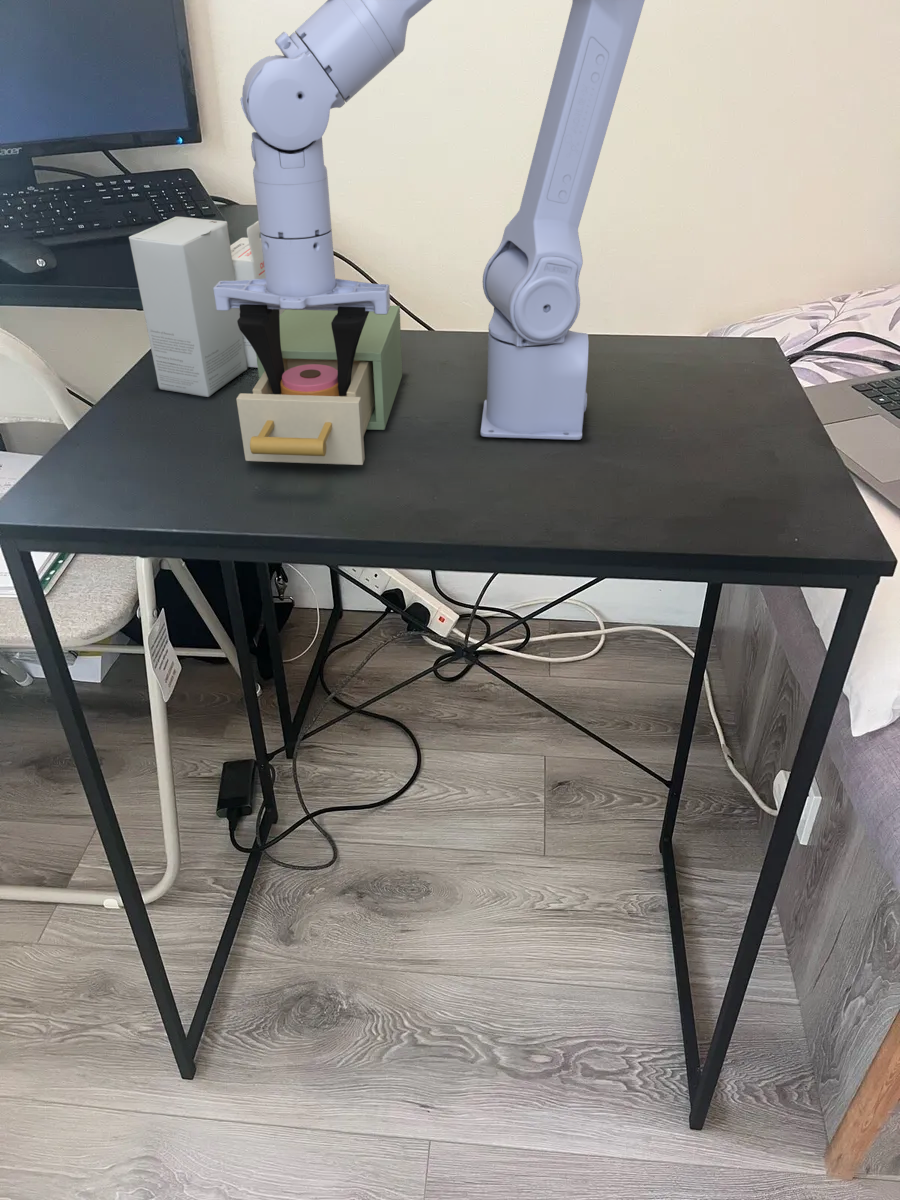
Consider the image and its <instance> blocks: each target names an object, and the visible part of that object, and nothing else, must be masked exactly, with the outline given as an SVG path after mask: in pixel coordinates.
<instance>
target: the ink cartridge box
mask: <svg viewBox="0 0 900 1200" xmlns="http://www.w3.org/2000/svg"><path fill="white" fill-rule="evenodd" d="M260 235H261V234H260V228H259V219H258V220H257V221H255V222H254V223H252V224H251V225H250V226H247V228H246V236H247V237H241V238H239V239H237V240H236V241H235V242H233V243H232V244H230V249H231V256H232V263H233V270H234V277H235V281H239V280H252V279H265V278H266V276H265V268H264V260H263V251H262V243H261V236H260ZM284 310H285V309H280V315H281V314H282V312H283V311H284ZM239 314H240V308H239ZM242 336H243V343H244V350H245V357H246V364H247V368H257V369H258V365H257V357H256V352H255V351H254V349H253V347H252V346H251V344H250V343H249V341H248V340H247V339H246V337H245V336H244V335H243V333H242Z"/></svg>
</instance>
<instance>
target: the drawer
mask: <svg viewBox="0 0 900 1200" xmlns="http://www.w3.org/2000/svg"><path fill="white" fill-rule="evenodd" d="M283 364H284V371H287V370H288V369H290V368H293V367H296V366H301V365H309V364H319V365H326V366H330V367H333V368H335V369H336V370H337V371H338V365H337V360H319V359H283ZM236 406H237V412H238V413H237V414H238V419H239V427H240V433H241V440H242V447H243V453H244V459H245V461H246V462H268V463H293V464H294V463H296V464H297V463H298V464H320V465H321V464H322V465H323V464H325V465H327V464H328V465H349V466H350V465H352V466H363V465H364V462H365V460H366V455H365V441H364V439H365V438H364V437H365V434H366V431H367V429H366V428H367V426H368V423H369V420H370V418H371V415H372V412H373V409H374V407H375V393H374V375H373V361H356V360H354V362H353V367H352V375H351V384H350V386H349V388H348V391H347V396H310V395H281V394H273V392H272V389H271V385H270V383H269V380H268V377H267V375H266V372H264V373H263V375H262V376H261V378H260V379H259V378H258V381H257V382H256V384H255V385H254V387H253V388H252V393H245V392H244V393H241V392H240V393H239V394H238V395H237V397H236Z"/></svg>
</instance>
